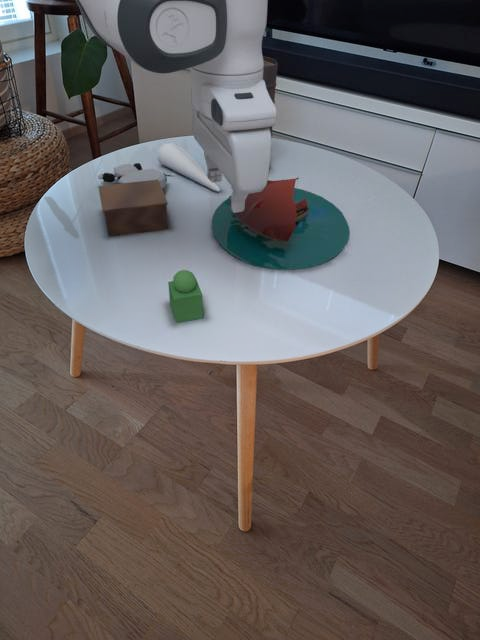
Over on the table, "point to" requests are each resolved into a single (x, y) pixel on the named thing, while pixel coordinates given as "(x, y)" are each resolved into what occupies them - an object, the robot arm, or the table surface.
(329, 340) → the table surface
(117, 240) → the table surface
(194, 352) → the table surface
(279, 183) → the boat on round base
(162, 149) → the long cone
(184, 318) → the green toy
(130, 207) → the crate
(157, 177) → the robot toy
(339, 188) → the table surface
